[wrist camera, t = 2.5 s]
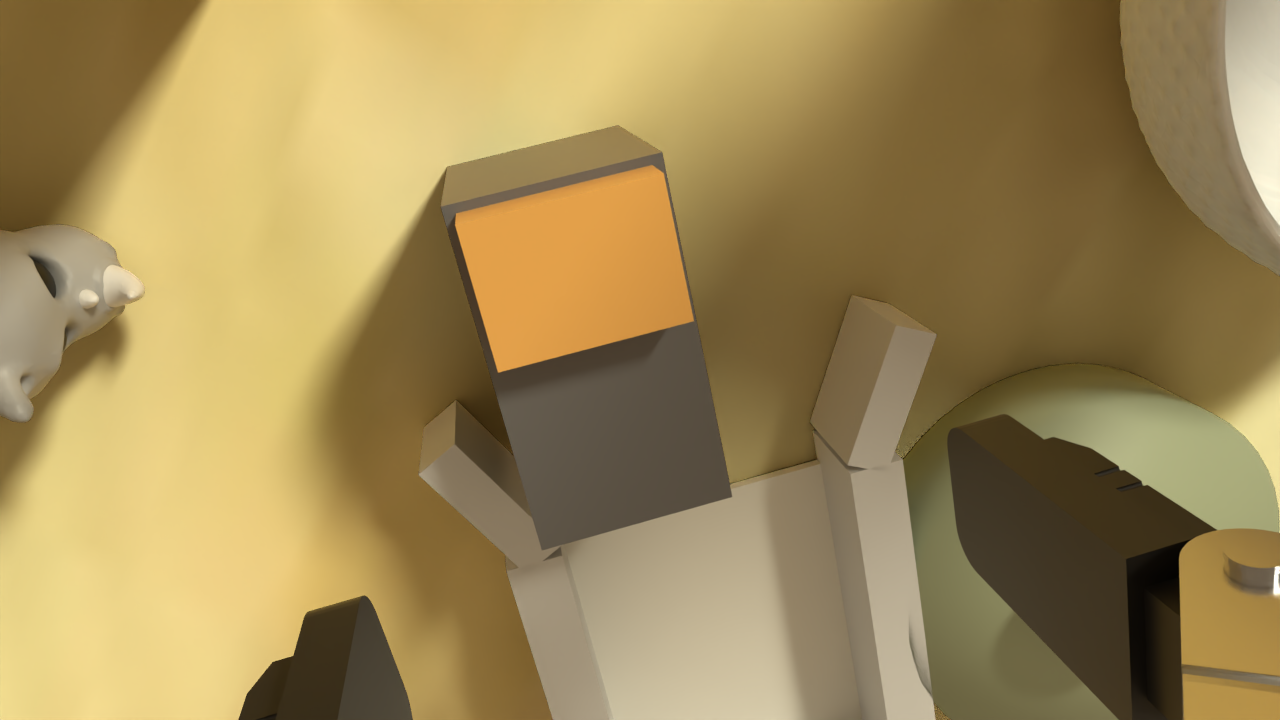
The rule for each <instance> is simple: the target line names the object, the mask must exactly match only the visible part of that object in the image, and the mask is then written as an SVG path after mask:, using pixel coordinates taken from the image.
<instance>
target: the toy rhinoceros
mask: <svg viewBox="0 0 1280 720" xmlns="http://www.w3.org/2000/svg"><path fill="white" fill-rule="evenodd" d="M144 293H145V287H144V285H143V283H142V281H141V280H140V279H139V278H138V277H137V276H135V275H134V274H133V273H131V272H129V271H128V270H126V269H123V268H122V266H121V265H120V264H119V262H118V259H117V254H116V251H115V249H114V248H113V247H112V246H111V245H110V244H108V243H107V242H105V241H103V240H101V239H99V238H98V237H96V236H95V235H93V234H91V233H89V232H87V231H85V230H82V229H79V228H76V227H73V226H69V225H59V224H56V225H43V226H36V227H31V228H27V229H23V230H20V231H17V232H10V231H5V230H0V416H2V417H4V418H6V419H8V420H11V421H13V422H28V421H29V420H30V419H31V418H32V415H33V412H34V407H33V405H32V403H31V401H30V399H31V398H33V397H35V396H36V395H38V394H39V393H40V392H41V391H42V390H43V389H44V387H45V386H46V385H47V384H48V382H49V381H50V379H51V378H52V377H53V376H54V375H55V374H56V372H57V371H58V369H59V367H60V365H61V360H62V354H63V352H64V351H65V350H66V349H67V348H68V347H69V346H70V345H71V344H72V343H74V342H75V341H77V340H79V339H81V338H84V337H86V336H88V335H90V334H93V333H95V332H96V331H98V330H99V329H101V328H102V327H104V326H105V325H106V324H107V323H108V322H109V321H111V320H112V319H113V318H114V317H116V316H118V315H120V314H121V313H122V312H123V311H124V308H125V305H126V304H130V303H132V302H135V301H137V300H139V299H141V298H142V297H143V295H144Z"/></svg>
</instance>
